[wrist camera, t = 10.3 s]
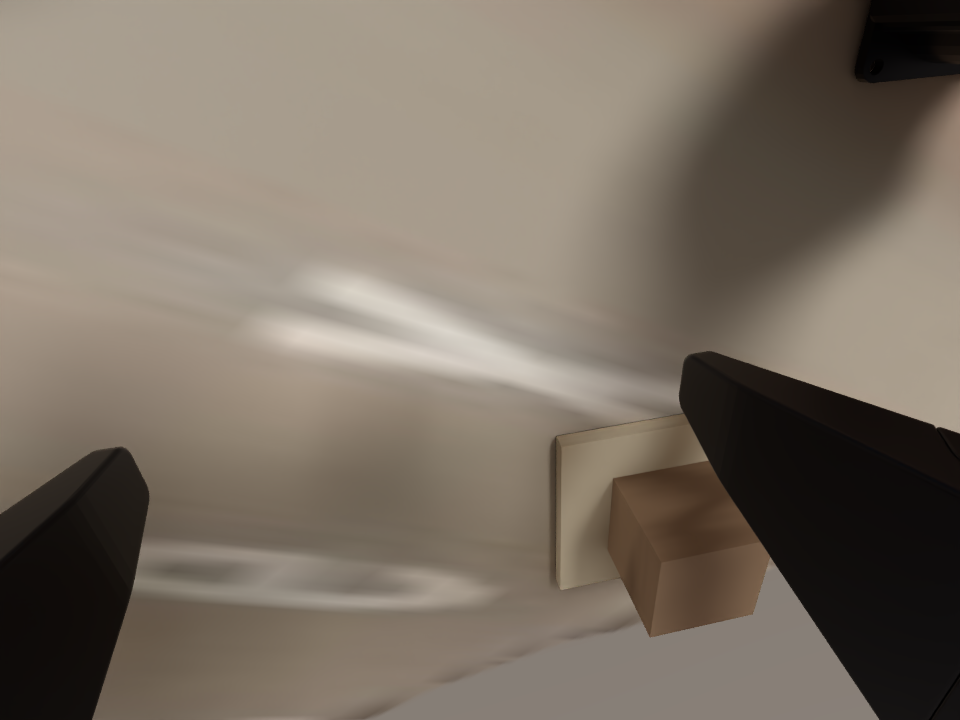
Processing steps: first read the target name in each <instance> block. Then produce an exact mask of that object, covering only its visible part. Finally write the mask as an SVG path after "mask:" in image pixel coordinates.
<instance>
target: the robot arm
mask: <svg viewBox="0 0 960 720" xmlns="http://www.w3.org/2000/svg"><path fill="white" fill-rule="evenodd" d="M874 61H875V64H874V68H873V70H872V71H871V72H870V67H871V64H872V63H873V62H874ZM854 74H855V77H856V79H857V80H858V81H860V82H868V83H876V82H886V81H896V80H905V79H915V78H925V77H935V76H944V75H954V74H960V0H872V1H871V5H870V9H869V13H868V17H867V21H866V25H865V29H864V33H863V37H862V41H861V45H860V49H859V53H858V57H857V62H856V66H855V73H854ZM679 401H680V405H681V408H682V410H683V412H684V414H685V416H686V418H687V420H688V422H689V424H690V426H691V428H692V430H693V432H694V434H695V435H696V437H697V439H698V441H699V443H700V445H701V447H702V449H703V451H704V453H705V455H706V457H707V459H708V460H709V462H710V464H711V466H712V468H713V470H714V472H715V473H716V475H717V477H718V479H719V480H720V482H721V484H722V485H723V487H724V488H725V490H726V491H727V493H728V494H729V496H730V497H731V499H732V500H733V502H734V503H735V505H736V506H737V508H738V509H739V511H740V512H741V514H742V515H743V517H744V518H745V520H746V521H747V523H748V524H749V526H750V527H751V529H752V530H753V532H754V533H755V535H756V536H757V538H758V539H759V541H760V542H761V544H762V545H763V547H764V548H765V550H766V551H767V553H768V554H769V556H770V557H771V559H772V560H773V562H774V563H775V565H776V566H777V568H778V569H779V571H780V572H781V573H782V575H783V576H784V578H785V579H786V581H787V582H788V584H789V585H790V587H791V588H792V590H793V591H794V593H795V594H796V596H797V597H798V599H799V600H800V602H801V603H802V605H803V606H804V608H805V609H806V611H807V612H808V614H809V615H810V617H811V618H812V620H813V621H814V622H815V624H816V626H817V627H818V629H819V630H820V632H821V633H822V635H823V636H824V637H825V639H826V640H827V642H828V644H829V645H830V647H831V648H832V649H833V651H834V653H835V654H836V655H837V657H838V658H839V660H840V662H841V663H842V664H843V666H844V667H845V669H846V670H847V672H848V673H849V675H850V676H851V678H852V679H853V681H854V682H855V684H856V685H857V687H858V688H859V690H860V691H861V693H862V694H863V696H864V697H865V699H866V700H867V702H868V703H869V705H870V706H871V708H872V709H873V711H874V712H875V714H876V715H877V717H878V718H879V720H960V433H957V432H954V431H951V430H948V429H945V428H942V427H938V428H936V427H935V426H934V425H932V424H929V423H926V422H923V421H920V420H917V419H914V418H911V417H908V416H905V415H902V414H899V413H896V412H893V411H890V410H887V409H884V408H881V407H878V406H875V405H872V404H869V403H866V402H863V401H860V400H857V399H854V398H851V397H848V396H845V395H842V394H839V393H836V392H833V391H830V390H827V389H824V388H821V387H818V386H815V385H812V384H809V383H806V382H803V381H800V380H797V379H793V378H790V377H787V376H784V375H781V374H778V373H775V372H772V371H769V370H766V369H763V368H760V367H757V366H754V365H751V364H748V363H745V362H742V361H739V360H736V359H733V358H730V357H727V356H724V355H721V354H718V353H715V352H712V351H706V352H700V353H694V354H690V355H688V356H687V357H686V358H685V360H684V363H683V370H682V377H681V384H680V391H679ZM148 505H149V490H148V487H147V484H146V482H145V480H144V478H143V477H142V475H141V473H140V471H139V469H138V467H137V465H136V463H135V461H134V459H133V457H132V455H131V453H130V452H129V451H128V450H127V449H126V448H123V447H115V448H108V449H102V450H96V451H93V452H91V453H90V454H88V455H87V456H85V457H84V458H82V459H81V460H79V461H78V462H76V463H75V464H74V465H72V466H71V467H69V468H68V469H66V470H65V471H63V472H62V473H60V474H59V475H57V476H56V477H54V478H53V479H51V480H50V481H49V482H47V483H46V484H44V485H43V486H41V487H40V488H38V489H37V490H35V491H34V492H32V493H31V494H29V495H28V496H26V497H25V498H24V499H22V500H21V501H19V502H18V503H16V504H15V505H13V506H12V507H10V508H9V509H7V510H6V511H4V512H3V513H1V514H0V720H92V718H93V715H94V712H95V709H96V705H97V702H98V699H99V696H100V693H101V690H102V686H103V683H104V680H105V677H106V674H107V670H108V667H109V664H110V661H111V658H112V654H113V651H114V648H115V645H116V642H117V639H118V635H119V632H120V629H121V626H122V623H123V619H124V616H125V613H126V610H127V606H128V603H129V599H130V596H131V592H132V588H133V584H134V579H135V574H136V569H137V564H138V558H139V553H140V548H141V542H142V537H143V532H144V526H145V521H146V516H147V510H148Z"/></svg>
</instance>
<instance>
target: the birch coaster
mask: <svg viewBox="0 0 960 720" xmlns="http://www.w3.org/2000/svg"><path fill="white" fill-rule="evenodd" d="M703 461H708V459H707V457H706V455H705V453H704V451H703V449H702V447H701V445H700V443H699V441H698V439H697V437H696V435H695V434H694V432H693V430H692V428H691V426H690V424H689V422H688V420H687V418H686V416H685V414H679V415H673V416H668V417H662V418H657V419H651V420H645V421H640V422H634V423H628V424H623V425H617V426H611V427H606V428H600V429H594V430H589V431H583V432H577V433H572V434H566V435H561V436H556V580H557V582H558V585H559V588H560V590H565V589H570V588H574V587H579V586H584V585H589V584H593V583H598V582H603V581H607V580H612V579H617V578H621V577H620V575H619V572H618V570H617V568H616V566H615V564H614V562H613V560H612V558H611V556H610V554H609V552H608V550H607V549H608V536H609V524H610V511H611V498H612V485H613V478H617V477H623V476H628V475H633V474H639V473H644V472H649V471H655V470H660V469H666V468H671V467H676V466H682V465H687V464H692V463H698V462H703Z"/></svg>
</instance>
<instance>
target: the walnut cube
mask: <svg viewBox="0 0 960 720" xmlns="http://www.w3.org/2000/svg"><path fill="white" fill-rule="evenodd" d="M607 550H608V552H609V554H610V556H611V558H612V560H613V562H614V564H615V566H616V568H617V570H618V572H619V575H620V577H621V579H622V581H623V583H624V585H625V587H626V589H627V591H628V593H629V595H630V597H631V599H632V601H633V603H634V606H635V608H636V610H637V612H638V614H639V616H640V618H641V620H642V622H643V624H644V626H645V628H646V630H647V632H648V634H649V637H654V636H659V635H663V634H668V633H672V632H676V631H681V630H685V629H690V628H694V627H699V626H703V625H707V624H712V623H716V622H721V621H725V620H729V619H734V618H738V617H743V616H747V615H751V614H753V612H754V609H755V605H756V602H757V599H758V595H759V592H760V588H761V585H762V582H763V579H764V575H765V572H766V569H767V565H768V562H769V559H770V556H769V554H768V553H767V551H766V550H765V548H764V547H763V545H762V544H761V542H760V541H759V539H758V538H757V536H756V535H755V533H754V532H753V530H752V529H751V527H750V526H749V524H748V523H747V521H746V520H745V518H744V517H743V515H742V514H741V512H740V511H739V509H738V508H737V506H736V505H735V503H734V502H733V500H732V499H731V497H730V496H729V494H728V493H727V491H726V490H725V488H724V487H723V485H722V484H721V482H720V480H719V479H718V477H717V475H716V473H715V472H714V470H713V468H712V466H711V464H710V462H709V460H708V461H703V462H698V463H692V464H687V465H682V466H676V467H671V468H666V469H660V470H655V471H649V472H644V473H639V474H633V475H628V476H623V477H617V478H613V485H612V498H611V511H610V524H609V536H608V549H607Z"/></svg>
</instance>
